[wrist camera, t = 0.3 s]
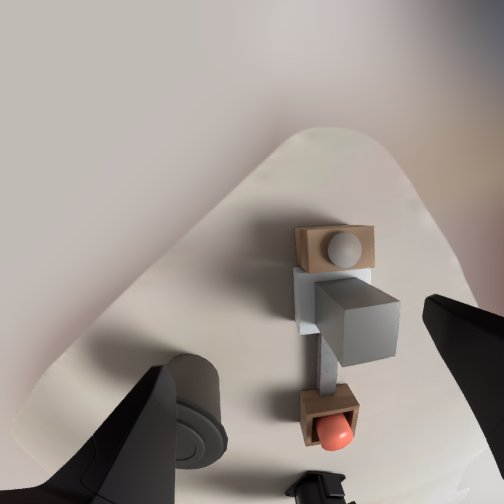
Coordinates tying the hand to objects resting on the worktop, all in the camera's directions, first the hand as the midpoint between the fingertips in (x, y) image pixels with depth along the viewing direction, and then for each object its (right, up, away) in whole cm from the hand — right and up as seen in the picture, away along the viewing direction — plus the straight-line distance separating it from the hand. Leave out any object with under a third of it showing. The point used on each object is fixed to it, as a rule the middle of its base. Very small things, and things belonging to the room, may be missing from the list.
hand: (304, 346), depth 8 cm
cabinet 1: (+5, +4, +15) cm, 17 cm away
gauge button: (+6, -13, +15) cm, 21 cm away
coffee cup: (-7, -9, +17) cm, 21 cm away
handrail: (+5, -4, +16) cm, 18 cm away
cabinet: (+6, -13, +17) cm, 23 cm away
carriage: (+5, -1, +16) cm, 17 cm away
